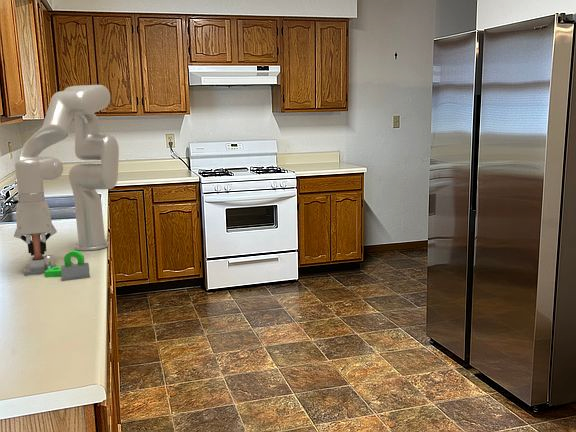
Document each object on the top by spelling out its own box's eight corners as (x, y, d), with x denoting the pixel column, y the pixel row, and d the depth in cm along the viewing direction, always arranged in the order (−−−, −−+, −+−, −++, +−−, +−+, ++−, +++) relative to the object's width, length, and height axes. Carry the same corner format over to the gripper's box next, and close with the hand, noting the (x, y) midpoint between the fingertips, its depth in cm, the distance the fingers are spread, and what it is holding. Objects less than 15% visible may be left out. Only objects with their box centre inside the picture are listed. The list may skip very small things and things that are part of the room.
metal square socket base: (26, 268, 190) (24, 253, 189) (55, 264, 193) (53, 249, 192) (23, 275, 181) (21, 260, 180) (54, 272, 184) (52, 256, 183)
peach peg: (33, 258, 187) (30, 232, 185) (44, 257, 188) (41, 231, 186) (32, 260, 184) (29, 234, 182) (43, 259, 185) (40, 233, 183)
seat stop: (62, 278, 177) (60, 265, 176) (89, 274, 179) (88, 262, 179) (62, 280, 174) (60, 268, 173) (89, 277, 177) (88, 264, 176)
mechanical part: (89, 271, 185) (87, 246, 183) (83, 276, 179) (81, 251, 177) (51, 272, 184) (49, 248, 183) (44, 277, 178) (42, 253, 177)
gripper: (2, 201, 176) (9, 259, 180) (58, 197, 182) (64, 254, 185) (5, 198, 183) (11, 254, 186) (59, 194, 189) (64, 249, 192)
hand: (37, 253), depth 186 cm, fingers closed on peach peg, 2 cm apart
